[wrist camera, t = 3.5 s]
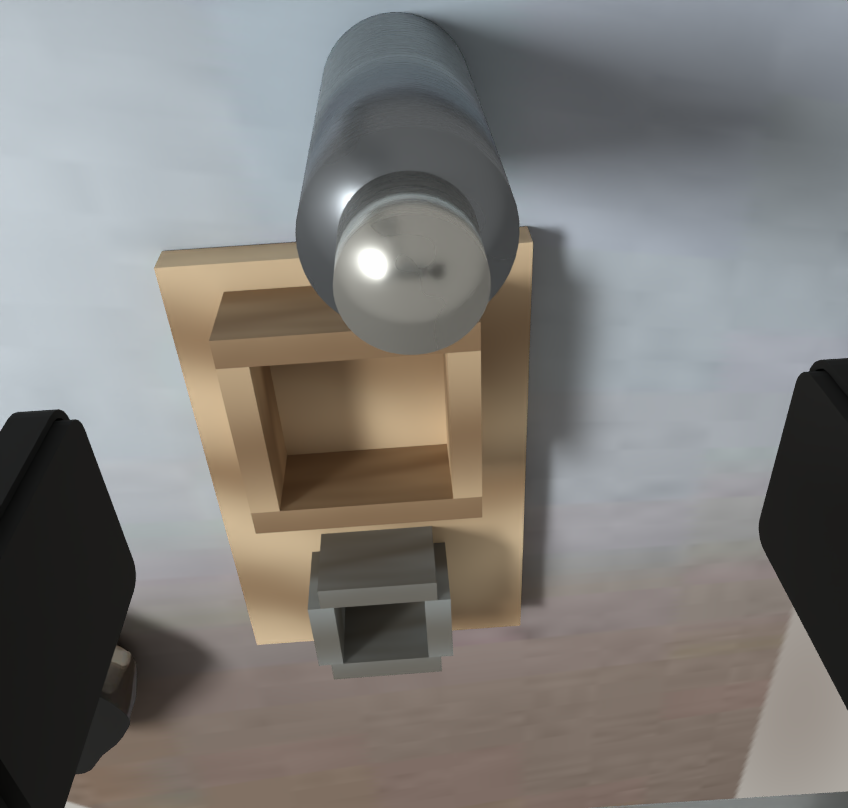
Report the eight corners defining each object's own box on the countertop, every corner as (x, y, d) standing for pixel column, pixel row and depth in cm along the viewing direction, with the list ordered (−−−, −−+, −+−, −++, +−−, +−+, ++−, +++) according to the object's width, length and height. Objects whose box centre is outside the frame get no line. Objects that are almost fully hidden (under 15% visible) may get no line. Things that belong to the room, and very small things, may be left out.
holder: (161, 251, 27) (131, 316, 23) (527, 226, 27) (549, 287, 23) (260, 623, 38) (249, 703, 35) (516, 604, 38) (530, 682, 35)
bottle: (312, 17, 23) (267, 176, 13) (469, 7, 23) (540, 158, 13) (330, 170, 25) (304, 397, 16) (471, 161, 25) (531, 381, 16)
